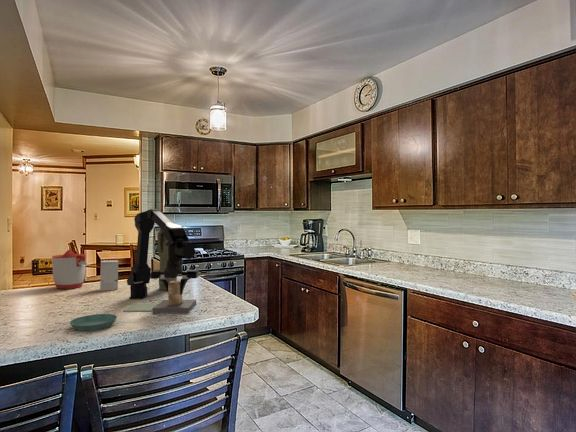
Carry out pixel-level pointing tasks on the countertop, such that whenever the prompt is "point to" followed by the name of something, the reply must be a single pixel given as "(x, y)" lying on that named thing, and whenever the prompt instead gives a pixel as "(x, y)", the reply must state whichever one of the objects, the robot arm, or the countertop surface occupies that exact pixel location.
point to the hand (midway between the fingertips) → (175, 294)
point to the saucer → (93, 322)
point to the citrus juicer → (69, 270)
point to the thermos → (163, 257)
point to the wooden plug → (174, 293)
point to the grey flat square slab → (174, 307)
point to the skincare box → (109, 275)
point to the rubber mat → (140, 308)
